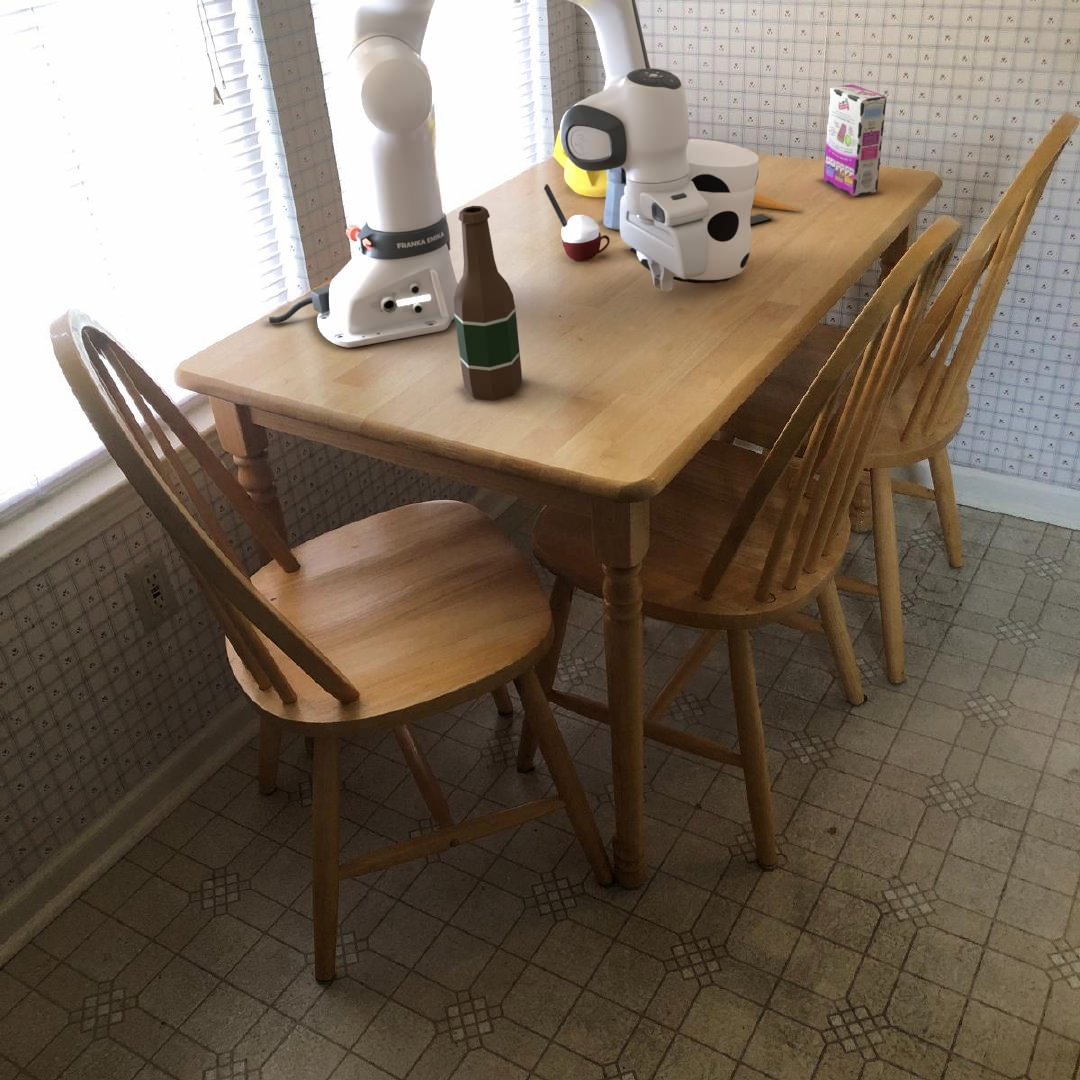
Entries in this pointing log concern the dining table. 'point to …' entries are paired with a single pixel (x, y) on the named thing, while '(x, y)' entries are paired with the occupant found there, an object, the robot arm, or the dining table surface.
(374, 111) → the robot arm
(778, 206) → the carrot
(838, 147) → the candy bar box
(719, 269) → the milk container
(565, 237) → the cocoa
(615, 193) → the moka pot
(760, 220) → the ruler
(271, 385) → the dining table surface
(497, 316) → the beer bottle
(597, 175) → the teapot
